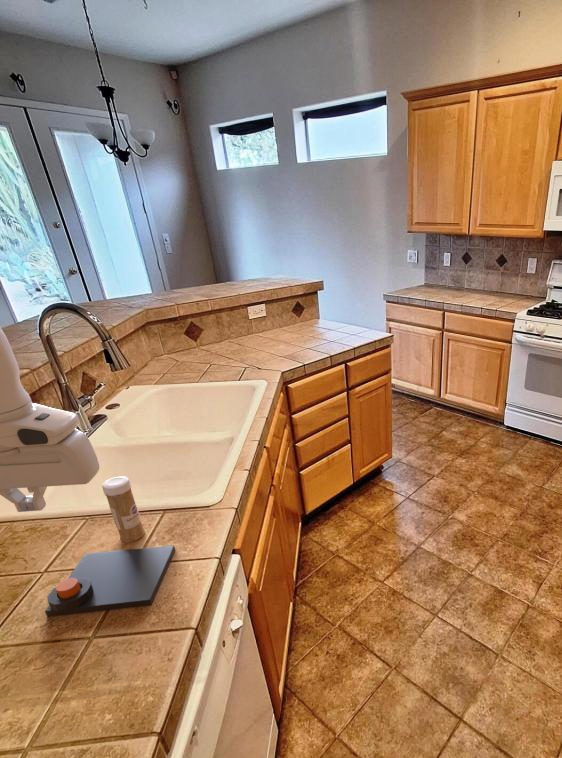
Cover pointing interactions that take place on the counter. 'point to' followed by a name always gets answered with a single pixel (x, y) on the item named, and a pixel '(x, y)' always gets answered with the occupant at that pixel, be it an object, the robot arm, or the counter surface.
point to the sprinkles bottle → (123, 508)
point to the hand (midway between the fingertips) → (32, 509)
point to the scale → (114, 581)
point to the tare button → (68, 588)
